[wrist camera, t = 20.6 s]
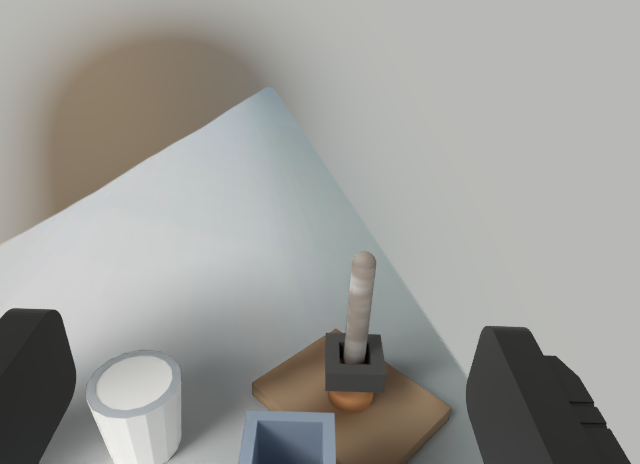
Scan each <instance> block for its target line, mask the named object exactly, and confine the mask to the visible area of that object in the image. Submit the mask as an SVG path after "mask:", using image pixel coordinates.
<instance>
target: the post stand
mask: <svg viewBox="0 0 640 464" xmlns="http://www.w3.org/2000/svg"><path fill="white" fill-rule="evenodd" d="M375 270H376V260H375V257H374V256H373V255H372V254H371V253H369V252H365V251H363V252H359V253H357V254H356V255H355V256H354V258H353V260H352V269H351V280H350V292H349V303H348V314H347V325H346V336H345V347H344V358H343V359H340V364H365V365H367V360H365V354H366V345H367V337H368V328H369V320H370V312H371V303H372V295H373V286H374V278H375ZM330 333H342V332H340V331H339V330H337V329H334V330H333V331H331V332H330ZM325 340H326V335H325V336H324V337H322V338H321V339H319V340H317V341H316V342H314V343H313V344H311V345H310V346H308V347H307V348H305V349H304V350H302V351H300V352H299V353H297V354H296V355H294V356H293V357H291V358H290V359H288V360H287V361H285V362H283V363H282V364H280V365H279V366H277V367H276V368H274V369H273V370H271V371H270V372H268V373H266V374H265V375H263V376H262V377H260V378H259V379H257V380H256V381H254V382H252V392H253V395H254V396H255V397H256V398H257V399H258V400H259V401H260V402H261V403H263V404H264V405H265V406H266V407H267V408H268V409H269V410H270V411H288V412H319V413H334V414H335V450H336V464H406V463H407V461H408V460H409V459H410V458H411V457H412V456H413V455H414V454H415V453H416V452H417V451H418V450H419V449H420V448H421V447H422V446H423V445H424V444H425V443H426V442H427V441H428V440H429V439H430V438H431V437H432V436H433V435H434V434H435V433H436V432H437V431H438V430H439V429H440V428H441V427H442V426H443V425H444V424H445V423H446V422H447V421H448V420H449V416H450V412H451V408H452V407H450V406H449V405H447V404H446V403H444V402H443V401H441V400H440V399H438V398H437V397H435V396H434V395H432V394H431V393H430V392H428V391H427V390H425V389H424V388H422V387H421V386H419V385H418V384H416V383H415V382H413V381H412V380H410V379H409V378H408V377H406V376H405V375H403V374H402V373H400V372H399V371H397V370H396V369H394V368H393V367H391V366H390V365H388V364H387V363H386V362H384V363H385V369H386V381H385V388H384V393H372V392H341V391H325Z"/></svg>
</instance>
